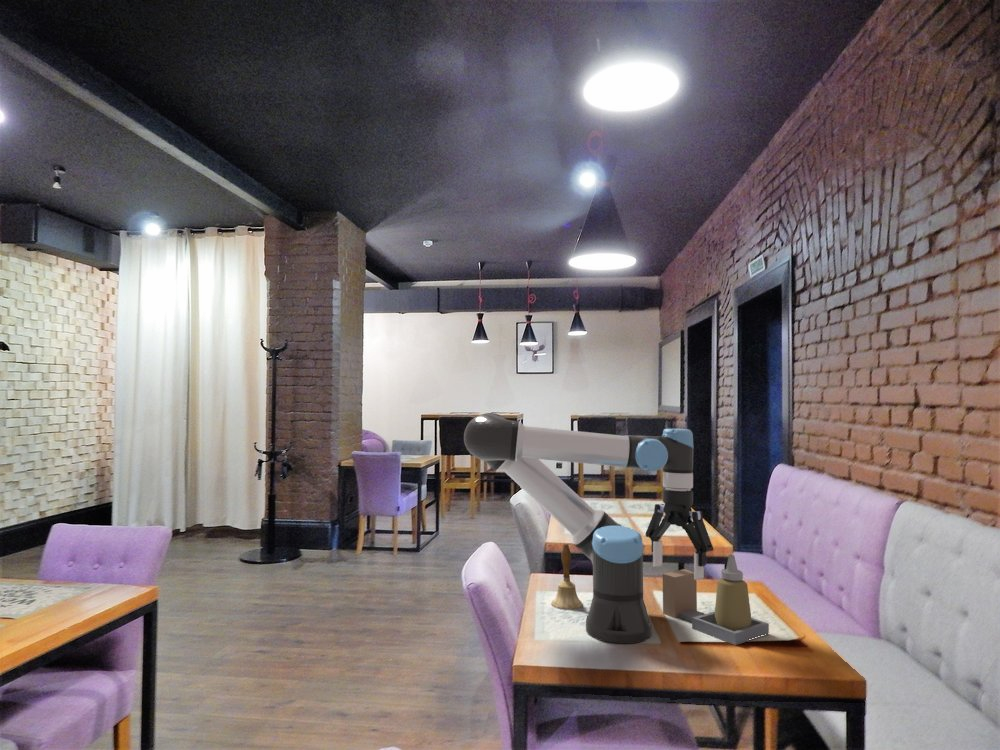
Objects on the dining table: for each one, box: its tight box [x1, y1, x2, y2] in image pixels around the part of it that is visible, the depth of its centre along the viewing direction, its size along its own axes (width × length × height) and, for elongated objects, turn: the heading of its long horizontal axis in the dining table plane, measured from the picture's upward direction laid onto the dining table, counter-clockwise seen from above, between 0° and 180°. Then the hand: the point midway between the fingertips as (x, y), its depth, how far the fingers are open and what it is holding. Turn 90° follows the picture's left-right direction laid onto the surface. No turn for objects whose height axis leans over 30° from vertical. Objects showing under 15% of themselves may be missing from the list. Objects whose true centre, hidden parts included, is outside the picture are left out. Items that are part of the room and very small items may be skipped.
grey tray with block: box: [662, 568, 770, 646], centre depth 147 cm, size 23×12×10 cm, turn 32°
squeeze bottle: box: [714, 554, 752, 631], centre depth 141 cm, size 8×8×18 cm
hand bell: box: [551, 543, 584, 610], centre depth 162 cm, size 8×8×16 cm
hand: (677, 572), depth 155 cm, fingers open, 13 cm apart
